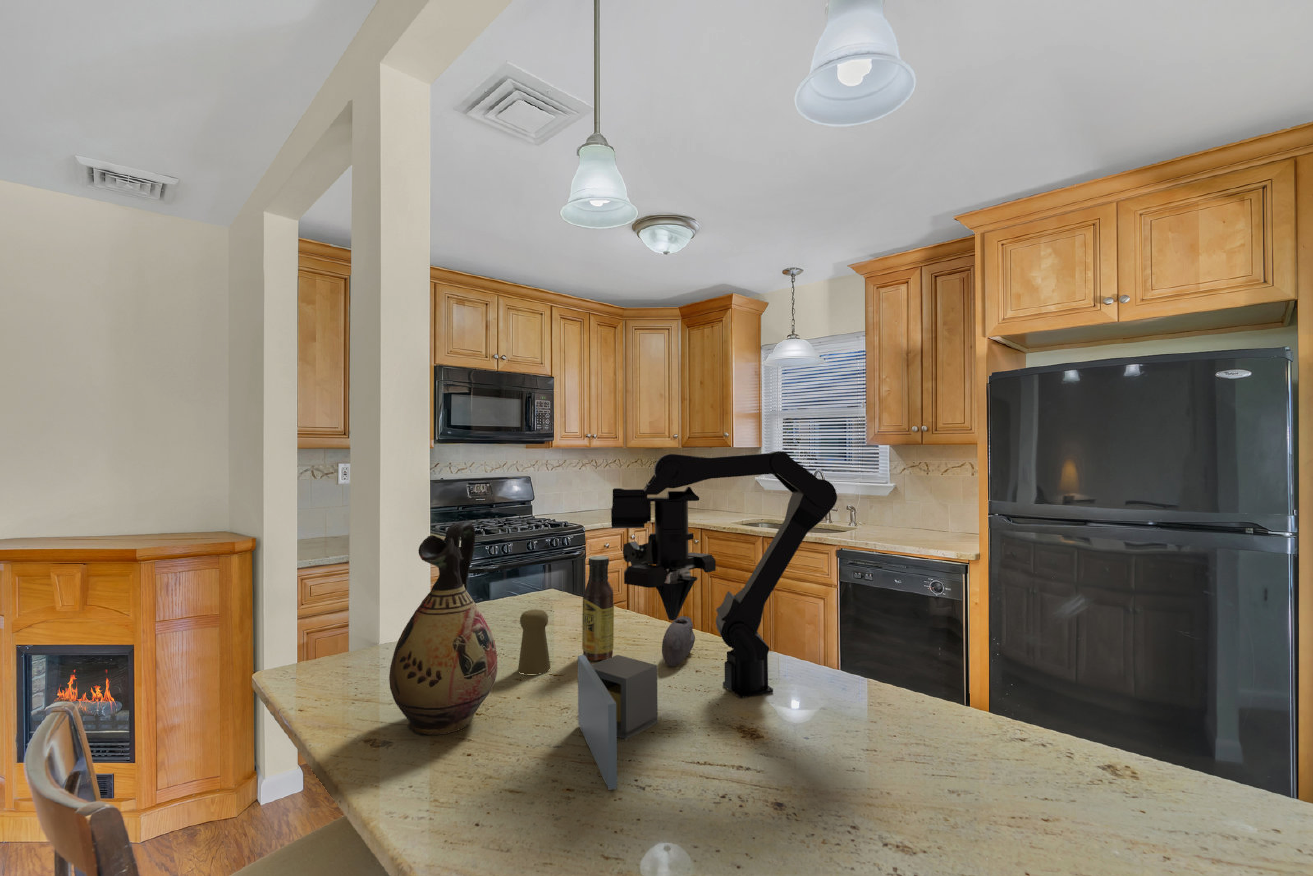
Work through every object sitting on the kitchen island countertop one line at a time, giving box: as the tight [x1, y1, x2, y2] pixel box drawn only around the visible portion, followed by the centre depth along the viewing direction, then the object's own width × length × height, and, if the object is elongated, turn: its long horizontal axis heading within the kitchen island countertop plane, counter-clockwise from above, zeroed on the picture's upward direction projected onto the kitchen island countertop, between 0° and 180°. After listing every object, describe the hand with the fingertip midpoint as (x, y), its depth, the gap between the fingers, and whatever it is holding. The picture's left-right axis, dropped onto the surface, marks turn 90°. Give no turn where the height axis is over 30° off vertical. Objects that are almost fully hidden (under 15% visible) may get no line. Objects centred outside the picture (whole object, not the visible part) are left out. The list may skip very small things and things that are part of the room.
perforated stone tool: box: [661, 615, 696, 667], centre depth 120 cm, size 15×5×7 cm, turn 162°
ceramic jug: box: [388, 520, 498, 737], centre depth 94 cm, size 17×15×30 cm
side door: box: [577, 654, 618, 791], centre depth 82 cm, size 1×19×10 cm, turn 18°
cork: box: [517, 608, 551, 674], centre depth 115 cm, size 6×6×11 cm
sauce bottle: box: [581, 555, 615, 662], centre depth 122 cm, size 7×6×20 cm
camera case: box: [591, 654, 659, 741], centre depth 91 cm, size 7×8×8 cm
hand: (672, 619), depth 104 cm, fingers closed
